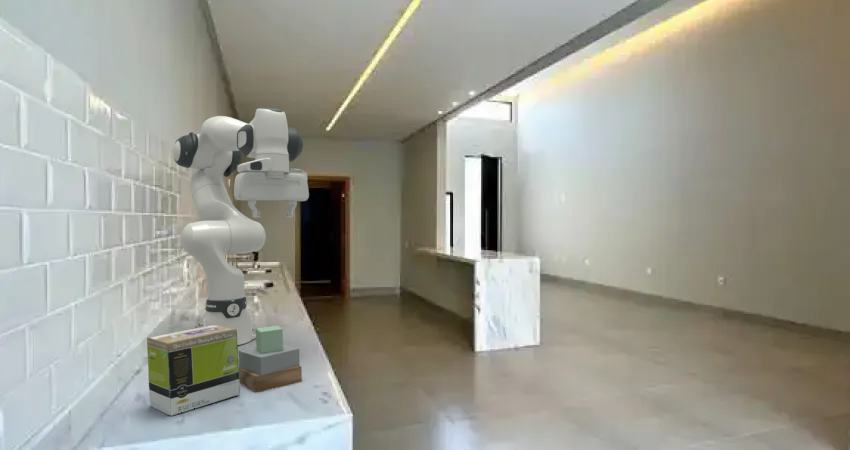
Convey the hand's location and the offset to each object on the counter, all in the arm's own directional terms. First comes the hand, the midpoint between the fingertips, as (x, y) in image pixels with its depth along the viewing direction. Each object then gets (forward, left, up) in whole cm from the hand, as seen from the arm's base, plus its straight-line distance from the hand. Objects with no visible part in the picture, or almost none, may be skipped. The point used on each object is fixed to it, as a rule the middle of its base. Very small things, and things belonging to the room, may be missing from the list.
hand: (273, 217), depth 137 cm
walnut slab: (+16, -9, -40) cm, 44 cm away
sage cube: (+17, -9, -32) cm, 37 cm away
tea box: (+18, -26, -39) cm, 51 cm away
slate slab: (+16, -9, -36) cm, 40 cm away
